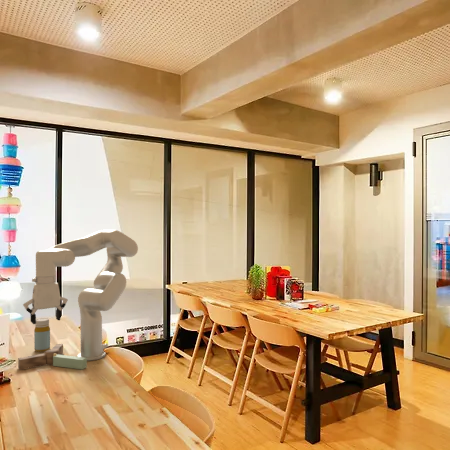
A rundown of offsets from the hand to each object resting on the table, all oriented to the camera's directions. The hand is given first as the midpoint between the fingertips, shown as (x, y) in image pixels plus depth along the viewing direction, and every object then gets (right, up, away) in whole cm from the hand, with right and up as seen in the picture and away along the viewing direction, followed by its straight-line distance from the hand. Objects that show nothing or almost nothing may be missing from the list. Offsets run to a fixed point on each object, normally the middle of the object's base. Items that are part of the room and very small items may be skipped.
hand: (46, 321), depth 170 cm
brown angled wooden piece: (-6, -21, +15) cm, 27 cm away
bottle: (-16, -22, +32) cm, 41 cm away
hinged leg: (+6, -21, +8) cm, 23 cm away
